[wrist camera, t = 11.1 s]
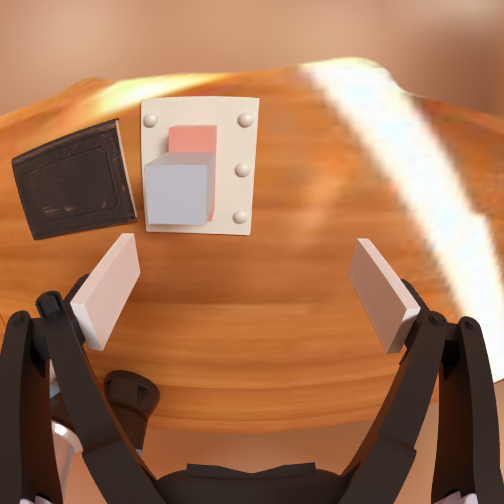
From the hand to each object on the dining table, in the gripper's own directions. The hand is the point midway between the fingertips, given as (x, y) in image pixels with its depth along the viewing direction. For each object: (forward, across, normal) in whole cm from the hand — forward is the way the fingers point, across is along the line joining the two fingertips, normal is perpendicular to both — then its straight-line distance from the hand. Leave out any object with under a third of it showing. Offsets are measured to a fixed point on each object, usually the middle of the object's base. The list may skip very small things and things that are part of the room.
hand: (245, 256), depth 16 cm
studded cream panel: (+26, -7, 0) cm, 27 cm away
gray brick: (+20, -7, 0) cm, 21 cm away
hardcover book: (+27, -29, -2) cm, 39 cm away
